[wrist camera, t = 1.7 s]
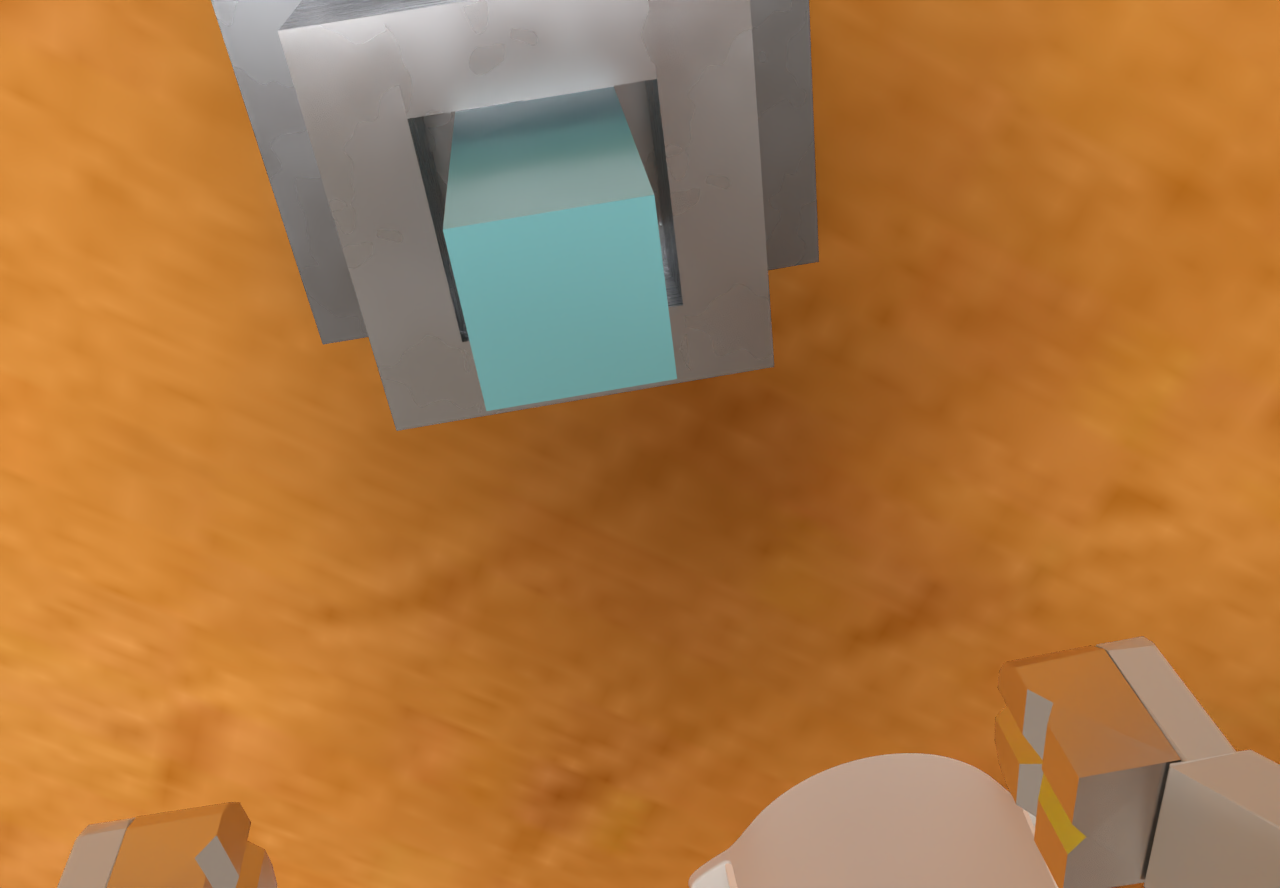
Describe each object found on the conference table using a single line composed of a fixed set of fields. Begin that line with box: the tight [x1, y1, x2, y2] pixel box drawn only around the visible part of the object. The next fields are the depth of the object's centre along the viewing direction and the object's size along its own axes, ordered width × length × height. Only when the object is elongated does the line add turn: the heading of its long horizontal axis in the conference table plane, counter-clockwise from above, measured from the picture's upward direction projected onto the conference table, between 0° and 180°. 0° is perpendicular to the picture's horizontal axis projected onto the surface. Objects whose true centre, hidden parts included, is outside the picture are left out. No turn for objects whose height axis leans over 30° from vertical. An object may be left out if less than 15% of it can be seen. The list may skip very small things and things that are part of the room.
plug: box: [443, 87, 677, 411], centre depth 24 cm, size 4×4×8 cm
